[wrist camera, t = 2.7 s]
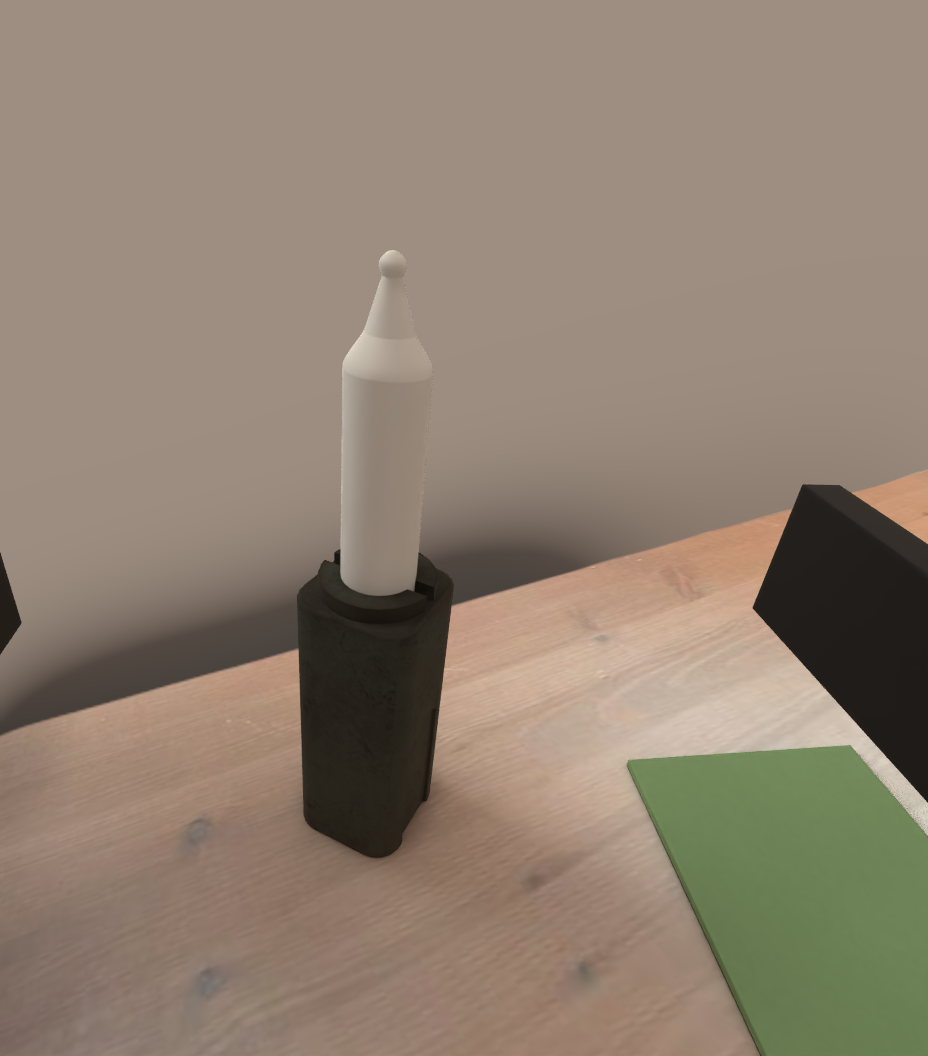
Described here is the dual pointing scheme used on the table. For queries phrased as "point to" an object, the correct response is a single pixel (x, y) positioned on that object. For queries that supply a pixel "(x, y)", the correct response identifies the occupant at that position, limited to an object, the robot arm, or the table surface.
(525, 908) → the table surface
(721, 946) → the cloth
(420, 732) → the candle
